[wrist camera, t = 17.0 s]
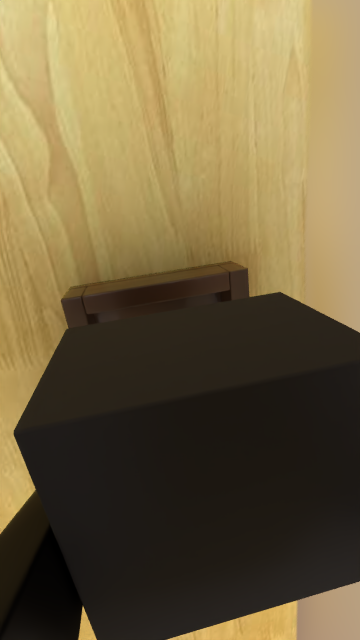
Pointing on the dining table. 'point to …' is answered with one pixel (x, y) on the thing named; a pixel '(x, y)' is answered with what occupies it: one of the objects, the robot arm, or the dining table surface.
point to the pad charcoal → (200, 462)
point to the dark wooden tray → (154, 293)
